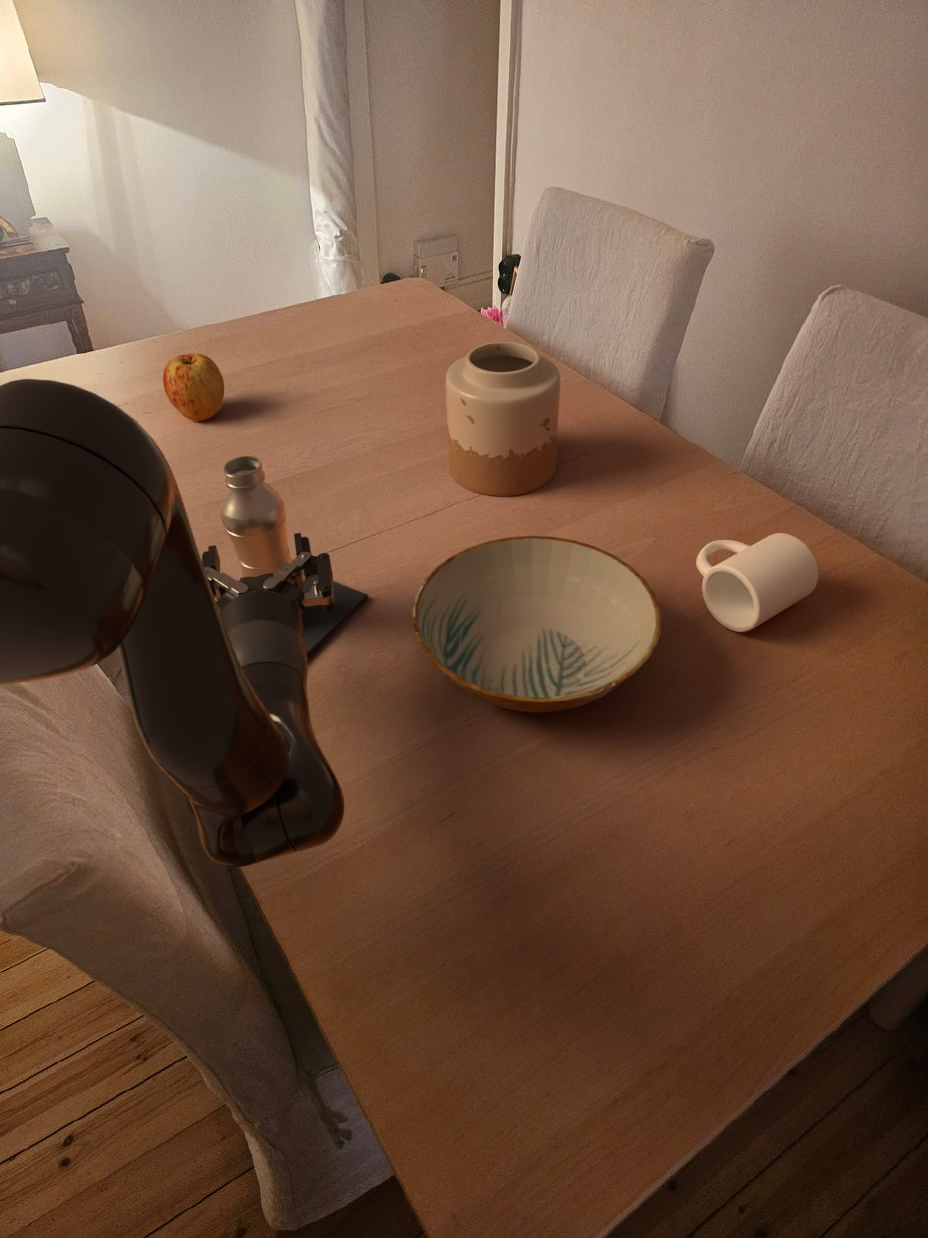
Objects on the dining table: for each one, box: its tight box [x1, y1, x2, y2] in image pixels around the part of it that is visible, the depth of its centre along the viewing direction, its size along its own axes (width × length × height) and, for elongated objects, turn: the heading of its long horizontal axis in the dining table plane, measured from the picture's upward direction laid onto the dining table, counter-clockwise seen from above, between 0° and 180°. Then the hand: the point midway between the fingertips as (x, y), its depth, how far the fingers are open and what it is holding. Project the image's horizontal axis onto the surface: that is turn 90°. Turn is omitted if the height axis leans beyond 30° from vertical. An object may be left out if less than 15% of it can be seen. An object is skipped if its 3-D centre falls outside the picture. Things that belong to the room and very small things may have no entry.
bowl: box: [412, 535, 662, 713], centre depth 86 cm, size 25×25×8 cm
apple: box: [162, 353, 225, 422], centre depth 129 cm, size 9×9×10 cm
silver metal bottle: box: [219, 455, 305, 593], centre depth 88 cm, size 6×7×20 cm
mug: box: [695, 532, 819, 633], centre depth 93 cm, size 12×10×8 cm
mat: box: [302, 575, 369, 659], centre depth 95 cm, size 16×14×1 cm
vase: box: [444, 340, 561, 497], centre depth 112 cm, size 15×15×17 cm
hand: (256, 546), depth 84 cm, fingers open, 8 cm apart
